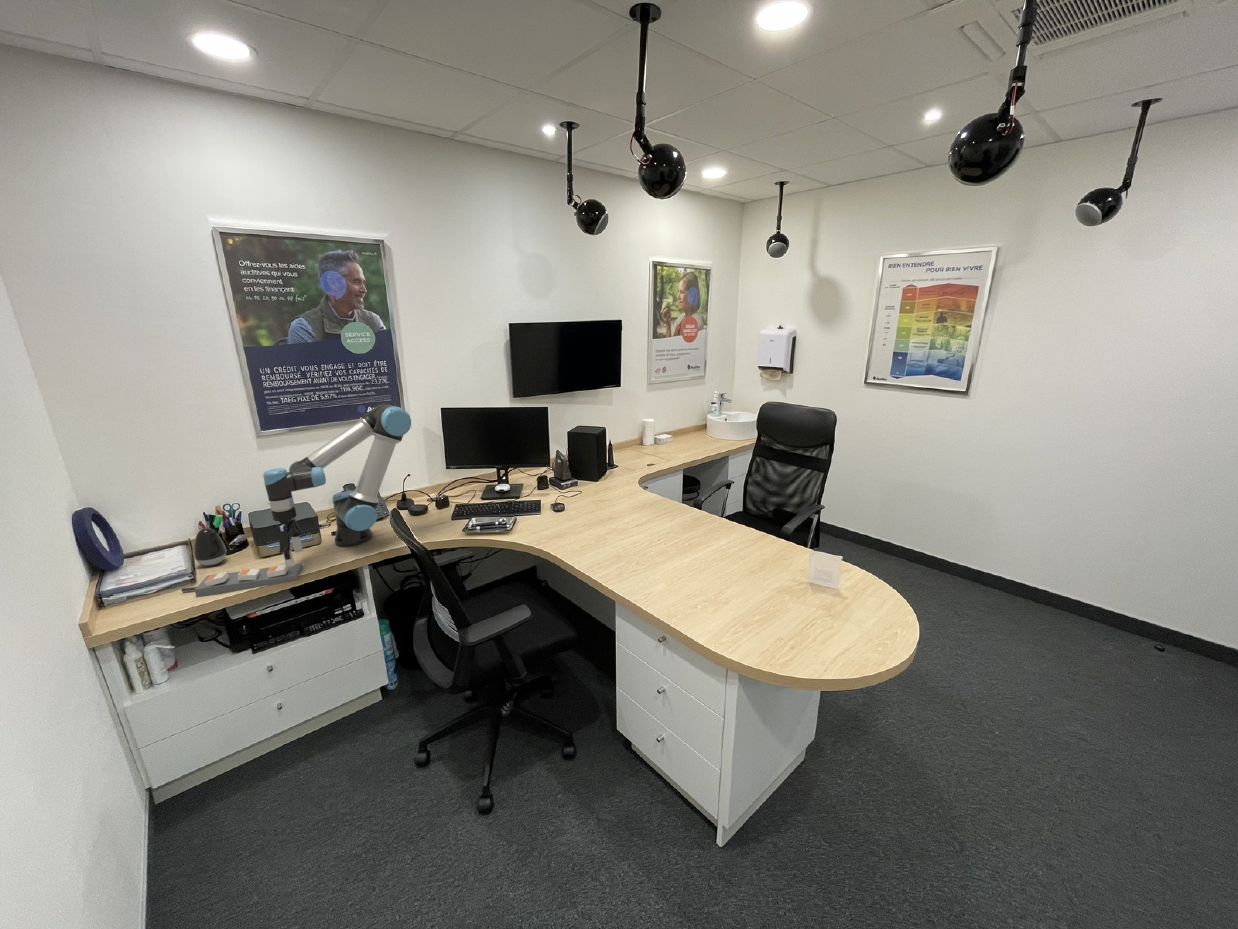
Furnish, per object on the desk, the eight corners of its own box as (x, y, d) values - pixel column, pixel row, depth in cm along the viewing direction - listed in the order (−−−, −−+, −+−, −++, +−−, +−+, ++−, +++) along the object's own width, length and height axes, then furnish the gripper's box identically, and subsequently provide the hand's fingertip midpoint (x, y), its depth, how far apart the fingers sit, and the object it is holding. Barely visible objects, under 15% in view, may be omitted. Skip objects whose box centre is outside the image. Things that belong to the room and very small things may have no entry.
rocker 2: (260, 574, 186) (260, 569, 185) (255, 580, 181) (255, 574, 181) (242, 574, 184) (242, 568, 183) (237, 580, 179) (237, 574, 179)
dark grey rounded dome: (211, 569, 196) (203, 534, 192) (190, 567, 197) (181, 532, 193) (235, 558, 205) (227, 524, 201) (214, 556, 207) (206, 523, 203)
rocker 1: (229, 575, 182) (227, 570, 182) (224, 581, 178) (222, 576, 177) (212, 580, 181) (209, 575, 180) (206, 586, 177) (204, 581, 176)
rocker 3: (288, 568, 189) (287, 563, 188) (285, 574, 184) (283, 569, 184) (272, 572, 187) (270, 566, 186) (268, 577, 183) (266, 572, 182)
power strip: (303, 570, 196) (302, 562, 195) (296, 582, 186) (294, 574, 185) (189, 585, 183) (187, 577, 183) (175, 600, 173) (173, 591, 173)
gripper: (280, 500, 197) (291, 547, 203) (261, 521, 175) (275, 574, 180) (301, 497, 200) (312, 544, 206) (286, 518, 177) (298, 570, 183)
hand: (294, 559), depth 193 cm, fingers open, 13 cm apart
